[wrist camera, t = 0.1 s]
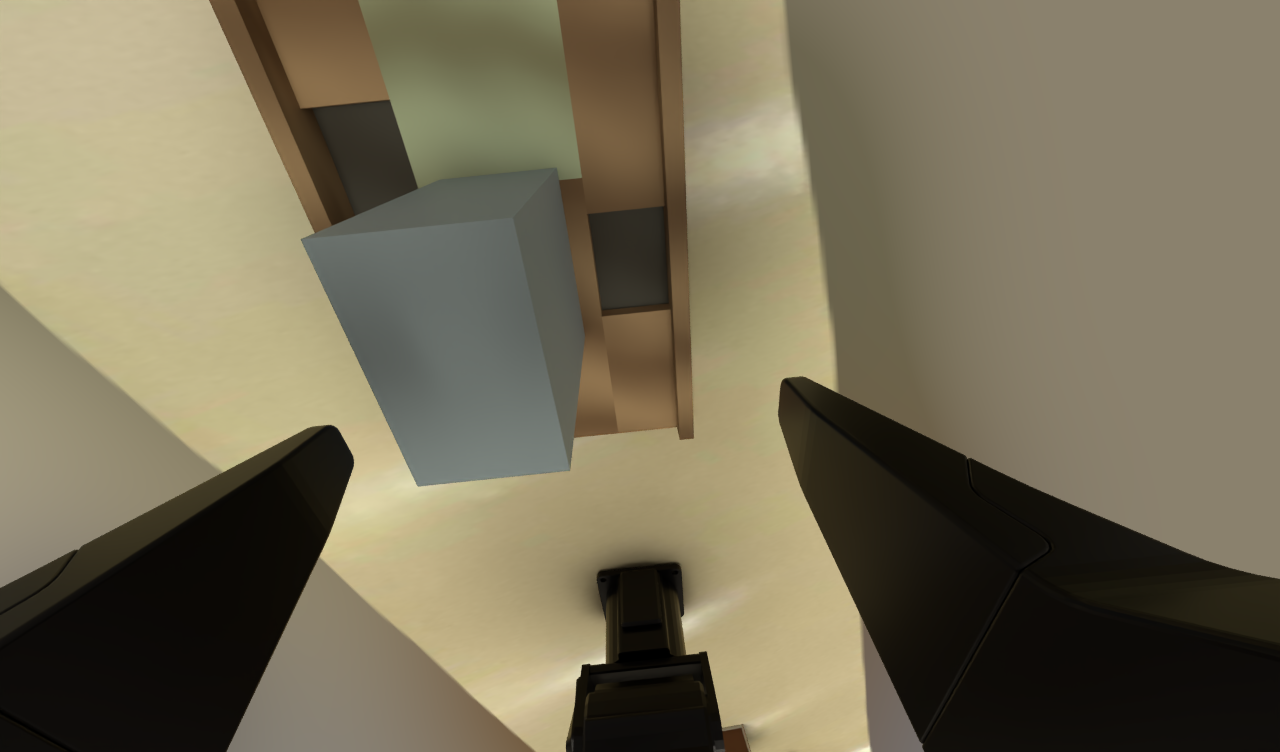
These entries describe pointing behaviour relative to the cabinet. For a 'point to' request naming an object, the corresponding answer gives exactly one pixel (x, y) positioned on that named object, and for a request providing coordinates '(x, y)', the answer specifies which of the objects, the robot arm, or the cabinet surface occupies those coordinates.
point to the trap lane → (504, 147)
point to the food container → (735, 739)
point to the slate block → (464, 322)
